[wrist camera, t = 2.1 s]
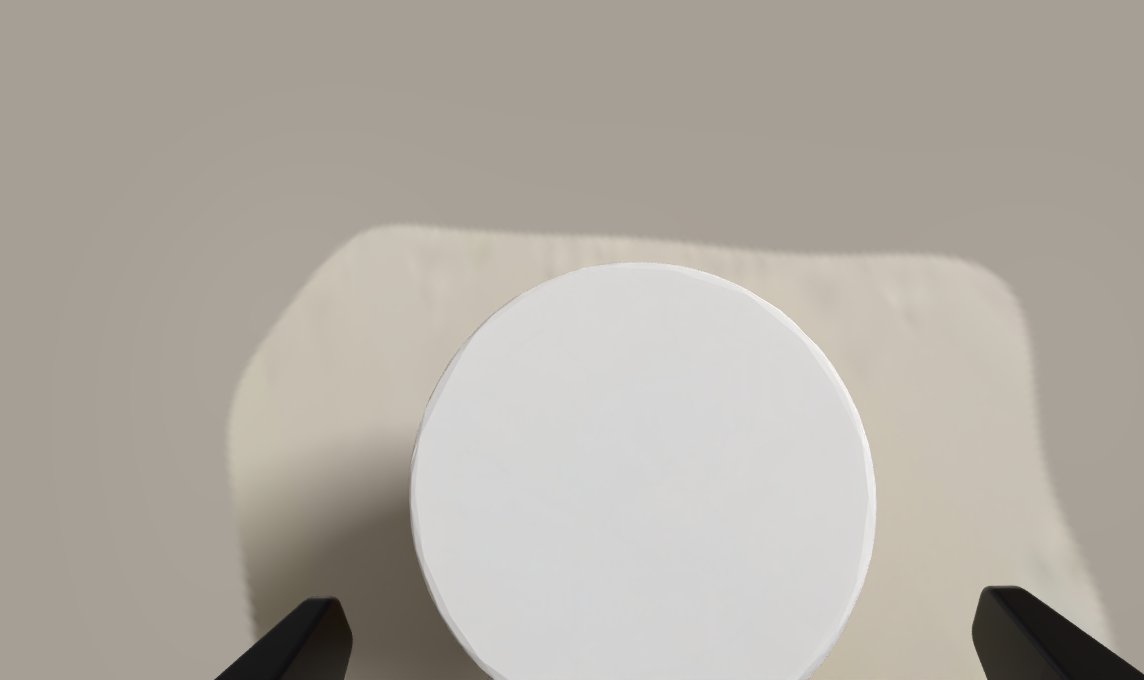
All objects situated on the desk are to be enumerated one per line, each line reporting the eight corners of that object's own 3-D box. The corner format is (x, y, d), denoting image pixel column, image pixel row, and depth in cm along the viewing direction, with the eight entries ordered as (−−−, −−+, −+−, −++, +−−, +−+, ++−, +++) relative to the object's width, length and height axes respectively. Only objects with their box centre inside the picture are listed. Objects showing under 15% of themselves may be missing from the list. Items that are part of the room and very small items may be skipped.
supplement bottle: (490, 517, 19) (194, 461, 7) (641, 368, 20) (621, 79, 8) (649, 702, 17) (636, 1106, 5) (811, 524, 18) (1155, 469, 5)
